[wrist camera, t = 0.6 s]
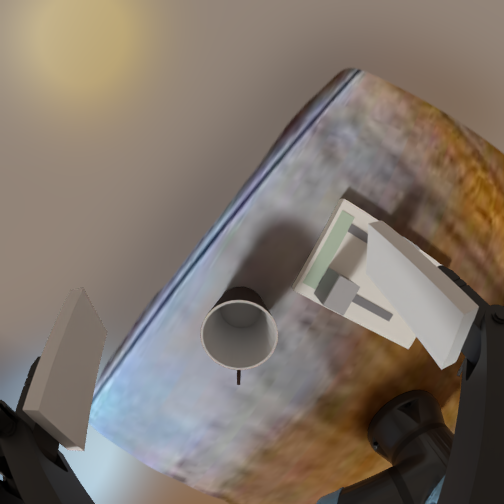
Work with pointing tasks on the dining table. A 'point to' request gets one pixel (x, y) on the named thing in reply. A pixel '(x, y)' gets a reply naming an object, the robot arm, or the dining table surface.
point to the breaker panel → (353, 273)
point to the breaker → (336, 291)
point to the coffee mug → (239, 331)
